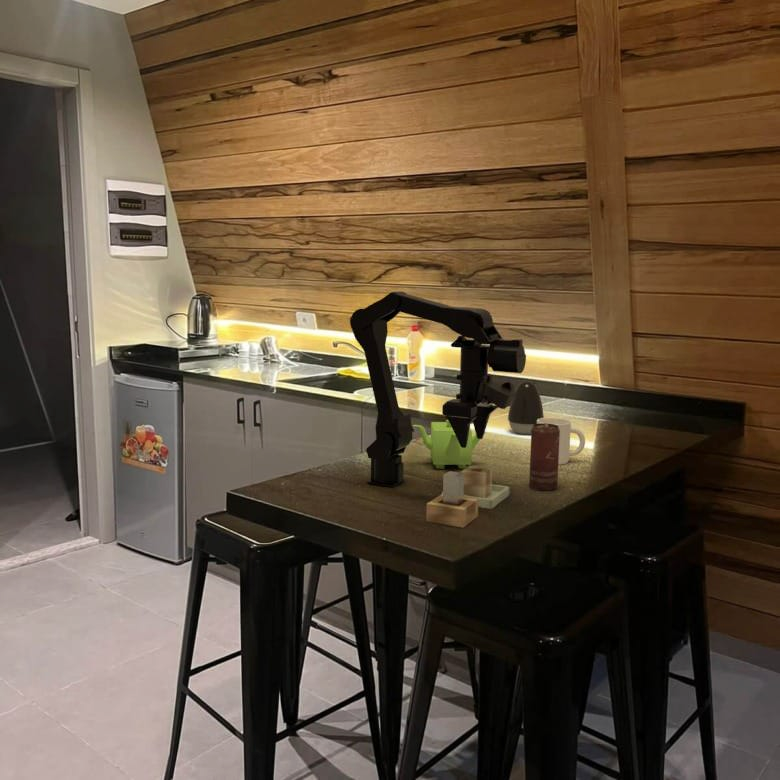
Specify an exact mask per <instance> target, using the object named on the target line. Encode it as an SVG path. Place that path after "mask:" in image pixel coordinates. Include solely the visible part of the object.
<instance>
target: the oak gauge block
mask: <svg viewBox="0 0 780 780" xmlns="http://www.w3.org/2000/svg"><path fill="white" fill-rule="evenodd" d="M425 515H426V518H425V519H426V522H428V523H435V524H440V525H444V526H445V525H446V526H452V527H457V528H462V529H463V528H465V527H466V526H467V525H468V524H470V523H472V522H473V521H474V520H475V519H477V518H478V517H479V507H478V499H474V498H467V497H463V504H462V505H461V506H453V505H447V504H443V494H442V493H441V494H440V495H438V496H437V497H434V498H433V499H432V500H430V501H429V502H427V503H426V514H425Z"/></svg>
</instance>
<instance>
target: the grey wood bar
mask: <svg viewBox="0 0 780 780" xmlns="http://www.w3.org/2000/svg"><path fill="white" fill-rule="evenodd" d="M442 481H443V482H442V484H443V485H442V492H443V504H447V505H453V506H461V505H462V504H463V493H464V473H461V472H460V471H459V472H458V471H452V470H451V471H450V470H449V471H448V472H446V473H443V480H442Z"/></svg>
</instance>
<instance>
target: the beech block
mask: <svg viewBox="0 0 780 780" xmlns="http://www.w3.org/2000/svg"><path fill="white" fill-rule="evenodd" d="M460 473H464V493H463V495H466V496H473V497H479V498H487V497H488V496H489V495H491V494H492V484H493V468H490V467H489V468H488V467H482V466H474V465H468V466H467V468H466V469H462V470H461V472H460Z"/></svg>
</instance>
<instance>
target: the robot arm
mask: <svg viewBox="0 0 780 780" xmlns="http://www.w3.org/2000/svg"><path fill="white" fill-rule="evenodd" d="M400 313H404V314H406V315H410V316H414V317H417V318H421V319H424V320H427V321H430V322H435V323H438V324H441V325H443V326H445V327H447V328H449V329H450V330H451V331H453V332H455V333H457V334H458V336H457V338H456V339H455V340H454V341H453V342H452V343H451V344H450V347H452V348H458V349H459V348H460V360H459V361H460V364H459V365H460V367H459V373H458V374H456V380H457V381H459V393H456V394H455V398H452V399H450V400H447V401H445V402H444V404H442V407H441V408H442V411H441V413H442V414H441V415H443V416H444V418H445V419H446V420H448V421H449V423H450V425H451V427H452V429H453V431H454V433H455V435H456V437H457V440H458V442H459V444H460V446H461V447H462V448H466V446H467V442H468V436H469V429H470V428H471V423H472V424H473V427H474V432H475V434H476V435H477V438H478V439H480V440H482V439H483V438H484V436H485V434H486V429H487V426H488V423H489V419H490V417H491V415H492V413H493V412H495V411H496V410H497V409H501V410H505V409H507V408H510V405H511V402H512V400H513V398H515V392H516V391H515V384H514V383H512V382H511V381H508V380H507V381H505V382H503V383H502V384H500V383H496V382H493V376H492V374H491V373H488V372H489V371H488V370H489V368H491V370H492V371H493V372H496V373H497V372H499V373H500V372H501V373H511V374H522V373H523V372H524V370H525V367H526V363H527V353H526V351H525V347H524V346H523V345H524V343H523V339H519V338H517V339H516V338H515V339H505V338H504V339H503V337H502V335H501V334H500V333H499V331H498V330H497V327H496V326H495V325H494V323H493V322H494V320H493V316H492V315H491V313H490V312H489V311H488V310H487V309H485V308H478V307H466V306H465V307H464V306H451V305H448V304H444V303H441V302H437V301H433V300H431V299H426V298H422V297H419V296H416V295H413V294H408V293H406V292H405V291H392V292H389V293H388V294H387V295H386V296H384V297H383V298H381V299H379V300H377V301H375V302H373V303H372V304H370V305H368V306H367V307H365V308H358V309H356V310H354V312H352V315H351V316H350V317H349V325H350V329H351V331H352V332H353V336H354V338H355V341H356V342H357V343H358V344H359V346H360V347H361V348H362V350H363V352H364V357H365V361H366V365H367V370H368V374H369V379H370V383H371V387H372V392H373V396H374V402H375V405H376V410H377V416H376V417H377V418H376V423H375V427H374V428H375V440H374V441H373V442H372V443H371V444H369V445H368V447H367V448H366V449H365V450H366V451H365V452H366V454H367V457H368V459H370V479H368V480H366V483H367V484H370V485H377V486H383V487H389V488H393V487H395V486H397V485H399V484H401V483H403V482H404V481H405V480H406V478H404V465H405V464H404V462H402V461H403V456H402V455H401V454H403V453H405V452H406V448H407V446H409V445H410V443H411V442H412V440H413V437H414V436H413V433H414V432H415V429H414V427H413V426H412V417H411V414H409V413H407V414H406V415H405V414H404V413H403V411H402V410H401V409H400V407H399V402H398V398H397V393H396V389H395V384H394V379H393V375H392V371H391V366H390V362H389V358H388V353H387V349H386V344H387V343H386V342H387V338H388V332H389V331H388V323H389V322H390V321H392V320H393V319H394V318H395V317H397V315H398V314H400ZM484 433H485V434H484Z"/></svg>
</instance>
